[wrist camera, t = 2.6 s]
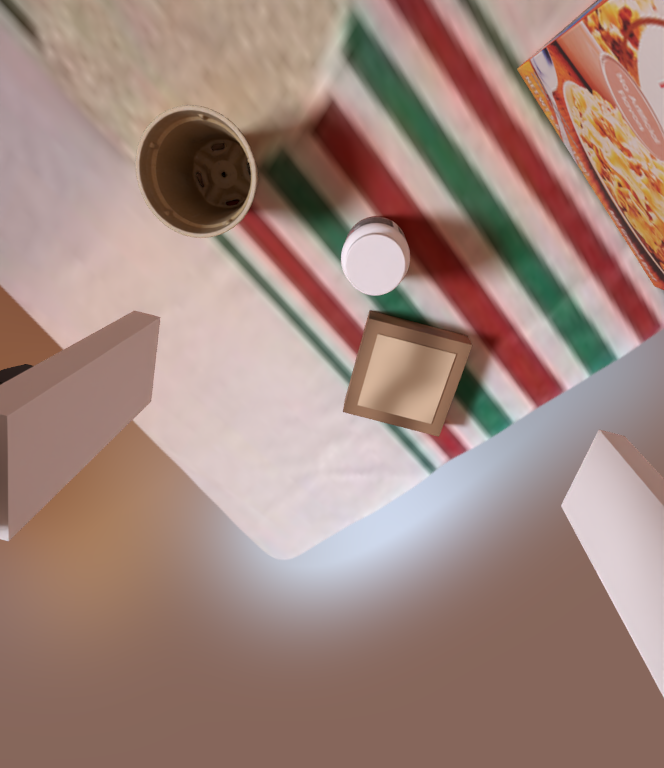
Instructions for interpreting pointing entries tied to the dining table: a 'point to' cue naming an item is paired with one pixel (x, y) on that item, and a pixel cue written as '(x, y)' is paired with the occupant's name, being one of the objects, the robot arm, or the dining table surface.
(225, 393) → the dining table surface
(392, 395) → the base block
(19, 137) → the dining table surface
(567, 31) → the pasta box
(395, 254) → the pill bottle
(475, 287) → the dining table surface
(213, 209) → the flower pot
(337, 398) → the dining table surface
